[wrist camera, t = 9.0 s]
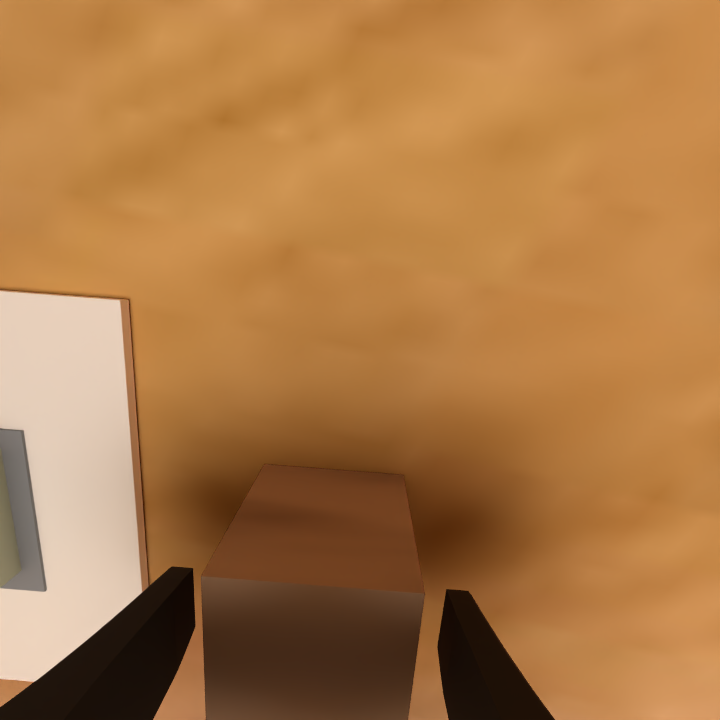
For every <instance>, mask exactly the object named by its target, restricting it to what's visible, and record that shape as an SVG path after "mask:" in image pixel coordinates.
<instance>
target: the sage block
mask: <svg viewBox="0 0 720 720" xmlns="http://www.w3.org/2000/svg"><path fill="white" fill-rule="evenodd" d="M20 571H21V564H20V558H19V552H18V546H17V540H16V535H15V529H14V523H13V517H12V511H11V505H10V500H9V494H8V488H7V482H6V476H5V470H4V465H3V459H2V453H1V448H0V588H1V587H2V586H3V585H5V584H6V583H7V582H8V581H9V580H11V579H12V578H13V577H14V576H15V575H17V574H18V573H19V572H20Z"/></svg>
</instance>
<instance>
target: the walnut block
mask: <svg viewBox="0 0 720 720" xmlns="http://www.w3.org/2000/svg"><path fill="white" fill-rule="evenodd" d="M201 591H202V620H203V648H204V677H205V706H206V720H408V715H409V708H410V700H411V693H412V685H413V678H414V671H415V663H416V656H417V648H418V641H419V633H420V626H421V618H422V611H423V604H424V596H425V592H424V586H423V581H422V575H421V570H420V564H419V559H418V553H417V548H416V542H415V536H414V531H413V525H412V520H411V514H410V509H409V503H408V498H407V492H406V486H405V481H404V475H400V474H387V473H374V472H361V471H348V470H335V469H322V468H309V467H296V466H283V465H270V464H264V466H263V467H262V469H261V471H260V473H259V474H258V476H257V478H256V480H255V482H254V483H253V485H252V487H251V489H250V490H249V492H248V494H247V496H246V497H245V499H244V501H243V503H242V505H241V506H240V508H239V510H238V512H237V513H236V515H235V517H234V519H233V520H232V522H231V524H230V526H229V528H228V529H227V531H226V533H225V535H224V536H223V538H222V540H221V542H220V543H219V545H218V547H217V549H216V550H215V552H214V554H213V556H212V558H211V559H210V561H209V563H208V565H207V566H206V568H205V570H204V572H203V573H202V575H201Z"/></svg>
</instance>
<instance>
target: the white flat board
mask: <svg viewBox="0 0 720 720" xmlns="http://www.w3.org/2000/svg"><path fill="white" fill-rule="evenodd" d="M0 448H1V453H2V459H3V465H4V470H5V476H6V482H7V488H8V494H9V500H10V505H11V511H12V517H13V523H14V529H15V535H16V540H17V546H18V552H19V558H20V564H21V571H20V572H19V573H18V574H17V575H15V576H14V577H13V578H12V579H11V580H9V581H8V582H7V583H6V584H5V585H3V586H2V587H1V588H0V679H9V680H21V681H33V682H35V681H36V680H38V679H39V678H40V677H41V676H43V675H44V674H45V673H47V672H48V671H49V670H50V669H52V668H53V667H54V666H55V665H57V664H58V663H59V662H60V661H62V660H63V659H64V658H65V657H67V656H68V655H69V654H70V653H72V652H73V651H74V650H75V649H77V648H78V647H79V646H80V645H81V644H83V643H84V642H85V641H86V640H88V639H89V638H90V637H91V636H92V635H93V634H95V633H96V632H97V631H98V630H99V629H101V628H102V627H103V626H104V625H105V624H106V623H108V622H109V621H110V620H111V619H112V618H113V617H115V616H116V615H117V614H118V613H119V612H120V611H122V610H123V609H124V608H125V607H126V606H127V605H128V604H130V603H131V602H132V601H133V600H134V599H135V598H136V597H137V596H139V595H140V594H141V593H142V592H143V591H144V590H145V589H147V588H148V587H149V585H148V570H147V556H146V542H145V528H144V513H143V499H142V485H141V470H140V456H139V442H138V428H137V413H136V399H135V385H134V370H133V356H132V342H131V327H130V313H129V300H127V299H113V298H100V297H87V296H74V295H61V294H48V293H35V292H22V291H9V290H0Z"/></svg>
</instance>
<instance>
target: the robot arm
mask: <svg viewBox="0 0 720 720" xmlns="http://www.w3.org/2000/svg"><path fill="white" fill-rule="evenodd" d="M194 628H195V605H194V580H193V568H184V567H171V568H169V569H168V570H167V571H166V572H165V573H164V574H162V575H161V576H160V577H159V578H158V579H157V580H156V581H154V582H153V583H152V584H151V585H150V586H149V587H148V588H147V589H145V590H144V591H143V592H142V593H141V594H140V595H139V596H137V597H136V598H135V599H134V600H133V601H132V602H131V603H130V604H128V605H127V606H126V607H125V608H124V609H123V610H122V611H120V612H119V613H118V614H117V615H116V616H115V617H113V618H112V619H111V620H110V621H109V622H108V623H106V624H105V625H104V626H103V627H102V628H101V629H99V630H98V631H97V632H96V633H95V634H93V635H92V636H91V637H90V638H89V639H88V640H86V641H85V642H84V643H83V644H81V645H80V646H79V647H78V648H77V649H75V650H74V651H73V652H72V653H70V654H69V655H68V656H67V657H65V658H64V659H63V660H62V661H60V662H59V663H58V664H57V665H55V666H54V667H53V668H52V669H50V670H49V671H48V672H47V673H45V674H44V675H43V676H41V677H40V678H39V679H38V680H36V681H35V682H34V683H32V684H31V685H30V686H28V687H27V688H26V689H24V690H23V691H22V692H20V693H19V694H18V695H16V696H15V697H14V698H12V699H11V700H10V701H8V702H7V703H6V704H4V705H3V706H1V707H0V720H153V718H154V716H155V714H156V712H157V711H158V709H159V707H160V705H161V703H162V701H163V699H164V697H165V695H166V693H167V691H168V689H169V687H170V685H171V683H172V681H173V679H174V677H175V675H176V673H177V671H178V668H179V666H180V664H181V661H182V659H183V656H184V654H185V652H186V649H187V646H188V644H189V641H190V639H191V636H192V634H193V631H194ZM437 647H438V655H439V664H440V672H441V680H442V687H443V694H444V699H445V704H446V709H447V713H448V718H449V720H555V719H554V718H553V716H552V715H551V714H550V712H549V711H548V710H547V708H546V707H545V706H544V704H543V703H542V702H541V700H540V699H539V697H538V696H537V695H536V693H535V692H534V690H533V689H532V688H531V686H530V685H529V683H528V682H527V681H526V679H525V678H524V676H523V675H522V673H521V672H520V670H519V669H518V667H517V666H516V664H515V663H514V662H513V660H512V659H511V657H510V656H509V654H508V653H507V651H506V650H505V648H504V647H503V645H502V644H501V642H500V640H499V639H498V637H497V636H496V634H495V633H494V631H493V629H492V628H491V626H490V625H489V623H488V621H487V620H486V618H485V617H484V615H483V613H482V612H481V610H480V608H479V607H478V605H477V604H476V602H475V600H474V599H473V597H472V595H471V594H470V593H469V592H468V591H462V590H450V589H446V595H445V602H444V608H443V614H442V621H441V627H440V634H439V640H438V646H437Z"/></svg>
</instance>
